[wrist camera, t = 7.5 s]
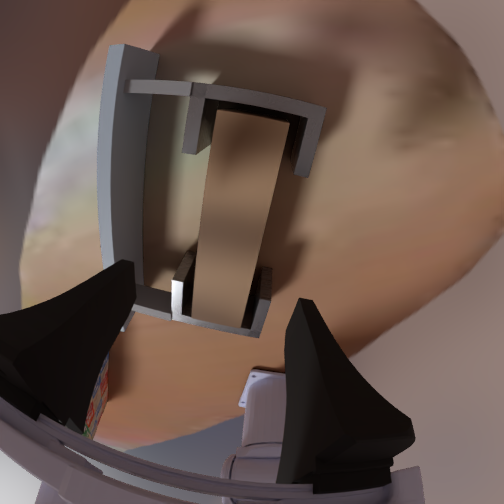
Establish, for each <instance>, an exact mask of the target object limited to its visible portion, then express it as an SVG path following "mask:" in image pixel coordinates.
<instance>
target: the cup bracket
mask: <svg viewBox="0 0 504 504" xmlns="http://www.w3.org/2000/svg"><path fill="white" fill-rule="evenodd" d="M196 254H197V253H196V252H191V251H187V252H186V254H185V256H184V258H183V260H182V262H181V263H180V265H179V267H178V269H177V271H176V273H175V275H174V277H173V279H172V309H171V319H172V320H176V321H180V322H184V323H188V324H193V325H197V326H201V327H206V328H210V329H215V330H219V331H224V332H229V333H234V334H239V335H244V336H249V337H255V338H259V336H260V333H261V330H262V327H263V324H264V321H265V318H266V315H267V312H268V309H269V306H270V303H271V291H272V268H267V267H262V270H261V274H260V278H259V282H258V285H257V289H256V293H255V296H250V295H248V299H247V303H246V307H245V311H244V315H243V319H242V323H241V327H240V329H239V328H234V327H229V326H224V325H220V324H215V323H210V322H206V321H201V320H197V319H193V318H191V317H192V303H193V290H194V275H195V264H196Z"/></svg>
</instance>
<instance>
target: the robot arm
mask: <svg viewBox="0 0 504 504" xmlns="http://www.w3.org/2000/svg"><path fill="white" fill-rule="evenodd" d="M136 298H137V295H136V283H135V267H134V262H132V261H128V260H124V259H121V260H119V261H118V262H116V263H114V264H112V265H111V266H109V267H108V268H106V269H104V270H103V271H101V272H99V273H98V274H96V275H95V276H93V277H91V278H90V279H88V280H86V281H85V282H83V283H81V284H79V285H77V286H76V287H74V288H72V289H70V290H69V291H67V292H65V293H63V294H61V295H59V296H56V297H54V298H52V299H50V300H47V301H45V302H42V303H40V304H37V305H34V306H32V307H29V308H26V309H22V310H19V311H15V312H12V313H7V314H2V315H0V450H1V451H2V452H4V453H5V454H6V455H7V456H8V457H10V458H11V459H12V460H13V461H14V462H16V463H17V464H19V465H20V466H21V467H22V468H24V469H25V470H26V471H28V472H29V473H30V474H32V475H33V476H35V477H36V478H38V479H39V480H41V481H42V483H41V486H40V489H39V492H38V495H37V499H36V502H35V504H197V503H193V502H188V501H184V500H180V499H176V498H172V497H168V496H165V495H161V494H158V493H154V492H151V491H148V490H144V489H141V488H138V487H135V486H132V485H129V484H126V483H124V482H121V481H118V480H115V479H113V478H110V477H108V476H105V475H103V472H102V471H101V470H100V469H98V468H97V467H95V466H93V465H92V464H91V463H89V462H88V461H87V460H86V459H85V458H83V457H82V456H80V455H78V454H76V453H75V452H73V451H71V450H69V449H68V448H66V447H65V446H67V447H69V448H71V449H73V450H75V451H77V452H79V453H81V454H83V455H85V456H87V457H89V458H91V459H94V460H96V461H98V462H100V463H103V464H105V465H108V466H110V467H113V468H116V469H118V470H121V471H123V472H126V473H129V474H131V475H134V476H137V477H141V478H143V479H147V480H150V481H153V482H157V483H160V484H164V485H167V486H171V487H176V488H179V489H184V490H188V491H193V492H199V493H203V494H209V495H215V496H222V504H425V500H424V492H423V484H422V478H421V472H420V467H419V466H415V467H411V468H406V469H402V470H397V471H394V472H391V473H390V467H391V466H393V463H394V462H393V457H394V456H396V455H398V454H399V453H401V452H403V451H404V450H406V449H407V448H409V447H410V446H411V445H412V444H413V443H414V442H415V434H414V430H413V425H412V421H411V419H410V418H409V417H408V416H406V415H405V414H403V413H402V412H401V411H399V410H398V409H397V408H395V407H394V406H393V405H392V404H390V403H389V402H388V401H387V400H386V399H384V398H383V397H382V396H381V395H380V394H379V393H378V392H377V391H376V390H375V389H374V388H373V387H372V386H371V385H370V384H369V383H368V382H367V381H366V380H365V379H364V378H363V377H362V375H361V374H360V373H359V372H358V371H357V370H356V368H355V367H354V366H353V365H352V363H351V362H350V361H349V359H348V358H347V357H346V355H345V354H344V352H343V351H342V349H341V348H340V346H339V345H338V343H337V342H336V340H335V339H334V337H333V335H332V334H331V332H330V330H329V329H328V327H327V325H326V323H325V322H324V320H323V318H322V316H321V314H320V312H319V311H318V309H317V307H316V305H315V303H314V302H313V300H309V299H303V298H299V299H298V302H297V304H296V307H295V309H294V312H293V314H292V317H291V319H290V321H289V324H288V326H287V329H286V335H285V348H284V355H285V374H283V373H276V372H269V371H263V370H257V369H253V370H251V371H250V374H249V377H248V379H247V382H246V385H245V388H244V390H243V393H242V396H241V398H240V401H239V406H240V407H245V417H244V426H243V435H242V447H237V451H236V454H232V455H230V456H229V457H228V459H226V460H225V462H224V464H223V466H222V470H221V477H220V478H218V477H212V476H206V475H201V474H196V473H191V472H187V471H182V470H179V469H174V468H170V467H167V466H163V465H160V464H156V463H153V462H149V461H146V460H143V459H140V458H137V457H134V456H131V455H128V454H126V453H123V452H120V451H117V450H115V449H112V448H110V447H107V446H105V445H102V444H100V443H98V442H95V441H93V440H91V439H89V438H87V437H84V436H82V434H84V428H85V423H86V418H87V413H88V409H89V405H90V401H91V398H92V394H93V391H94V388H95V385H96V382H97V379H98V376H99V373H100V371H101V368H102V365H103V363H104V360H105V358H106V356H107V354H108V352H109V350H110V348H111V347H112V345H113V343H114V341H115V339H116V338H117V336H118V334H119V332H120V331H121V329H122V327H123V325H124V324H125V322H126V320H127V318H128V317H129V315H130V312H131V310H132V308H133V305H134V303H135V300H136ZM64 445H65V446H64Z"/></svg>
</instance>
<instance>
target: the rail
mask: <svg viewBox="0 0 504 504" xmlns="http://www.w3.org/2000/svg"><path fill="white" fill-rule="evenodd" d="M289 125H290V123H289V122H288V121H287V119H285V118H281V117H277V116H272V115H267V114H262V113H257V112H252V111H246V110H240V109H234V108H228V109H220V110H217V114H216V120H215V125H214V131H213V137H212V143H211V149H210V156H209V162H208V169H207V176H206V183H205V190H204V197H203V205H202V213H201V221H200V230H199V239H198V248H197V258H196V268H195V279H194V290H193V303H192V317H191V318H193V319H197V320H201V321H206V322H210V323H215V324H220V325H224V326H229V327H234V328H239V329H240V327H241V323H242V319H243V315H244V311H245V307H246V303H247V299H248V295H249V291H250V287H251V283H252V279H253V275H254V271H255V267H256V263H257V259H258V254H259V250H260V246H261V242H262V238H263V234H264V230H265V226H266V221H267V217H268V213H269V209H270V205H271V201H272V196H273V192H274V188H275V184H276V180H277V176H278V171H279V167H280V163H281V159H282V154H283V150H284V146H285V142H286V137H287V133H288V129H289Z"/></svg>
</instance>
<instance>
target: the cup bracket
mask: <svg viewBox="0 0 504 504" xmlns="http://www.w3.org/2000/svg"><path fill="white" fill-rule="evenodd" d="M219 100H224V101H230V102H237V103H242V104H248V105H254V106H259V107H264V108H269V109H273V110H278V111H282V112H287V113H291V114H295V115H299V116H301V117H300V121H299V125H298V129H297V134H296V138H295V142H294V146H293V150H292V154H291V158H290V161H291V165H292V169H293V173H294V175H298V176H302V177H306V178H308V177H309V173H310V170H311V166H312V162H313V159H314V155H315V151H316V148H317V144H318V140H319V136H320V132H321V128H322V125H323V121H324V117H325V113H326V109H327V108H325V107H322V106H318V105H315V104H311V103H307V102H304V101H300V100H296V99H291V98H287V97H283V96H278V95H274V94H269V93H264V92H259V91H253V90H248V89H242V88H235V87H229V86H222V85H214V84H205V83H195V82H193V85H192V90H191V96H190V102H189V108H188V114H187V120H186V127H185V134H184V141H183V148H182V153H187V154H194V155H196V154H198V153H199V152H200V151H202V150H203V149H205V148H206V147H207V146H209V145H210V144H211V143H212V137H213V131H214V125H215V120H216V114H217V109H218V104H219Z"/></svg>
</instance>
